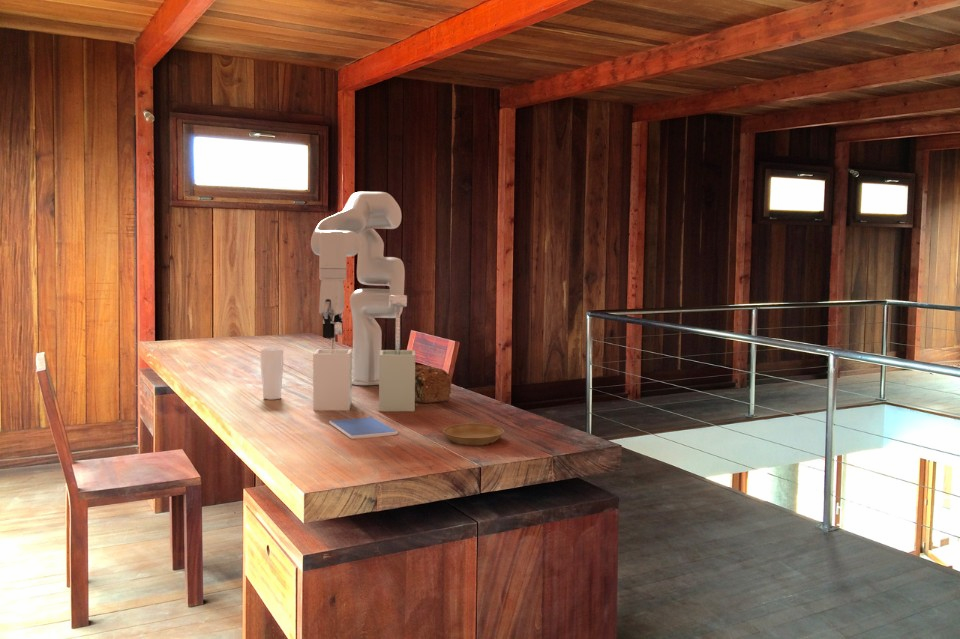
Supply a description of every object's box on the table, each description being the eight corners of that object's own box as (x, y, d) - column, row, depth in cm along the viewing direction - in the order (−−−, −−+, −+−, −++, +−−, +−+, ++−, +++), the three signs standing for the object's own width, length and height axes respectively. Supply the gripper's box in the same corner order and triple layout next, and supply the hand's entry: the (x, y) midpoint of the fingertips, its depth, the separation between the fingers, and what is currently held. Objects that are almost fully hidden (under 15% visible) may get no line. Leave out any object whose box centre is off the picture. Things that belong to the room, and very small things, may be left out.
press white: (317, 403, 237) (317, 349, 236) (351, 403, 238) (351, 349, 236) (313, 410, 227) (313, 353, 226) (349, 410, 228) (349, 354, 227)
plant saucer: (456, 450, 188) (456, 439, 188) (434, 436, 201) (434, 425, 201) (513, 445, 194) (514, 434, 193) (488, 431, 207) (488, 421, 207)
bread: (451, 401, 243) (452, 369, 242) (419, 405, 238) (420, 371, 237) (424, 391, 259) (424, 360, 258) (393, 394, 254) (393, 362, 253)
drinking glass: (277, 401, 239) (277, 350, 237) (256, 399, 240) (256, 349, 239) (287, 396, 246) (287, 347, 244) (267, 395, 247) (266, 347, 245)
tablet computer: (327, 424, 213) (327, 419, 213) (373, 420, 218) (373, 415, 218) (350, 441, 196) (350, 436, 195) (399, 436, 201) (399, 431, 201)
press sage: (380, 404, 237) (380, 350, 236) (414, 404, 238) (414, 350, 237) (379, 411, 227) (379, 354, 226) (414, 411, 228) (415, 355, 227)
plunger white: (320, 391, 236) (320, 321, 234) (347, 391, 236) (347, 321, 234) (318, 396, 228) (317, 324, 226) (345, 396, 229) (345, 324, 227)
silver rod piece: (384, 365, 235) (384, 294, 233) (410, 365, 236) (411, 294, 234) (383, 369, 228) (384, 296, 226) (410, 369, 228) (411, 296, 226)
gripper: (328, 273, 238) (328, 332, 240) (310, 275, 221) (311, 339, 222) (353, 273, 237) (353, 332, 239) (337, 276, 220) (337, 340, 222)
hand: (332, 335), depth 231 cm, fingers open, 8 cm apart
